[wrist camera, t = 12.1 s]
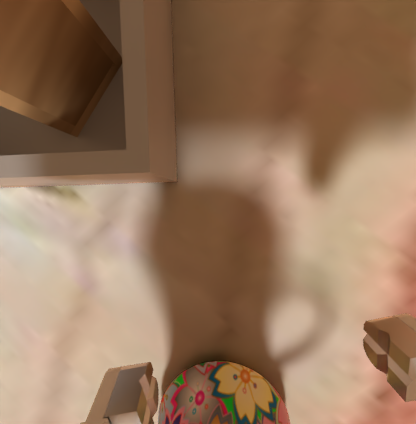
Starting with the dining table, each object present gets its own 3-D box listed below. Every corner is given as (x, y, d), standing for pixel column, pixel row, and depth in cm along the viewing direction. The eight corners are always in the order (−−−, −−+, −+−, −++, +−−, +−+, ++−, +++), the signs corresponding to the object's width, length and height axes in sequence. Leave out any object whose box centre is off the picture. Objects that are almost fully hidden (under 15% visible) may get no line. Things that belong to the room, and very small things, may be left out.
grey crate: (177, 181, 14) (150, 172, 9) (-15, 188, 15) (-131, 182, 10) (169, -46, 13) (135, -191, 8) (-33, -20, 15) (-167, -132, 10)
